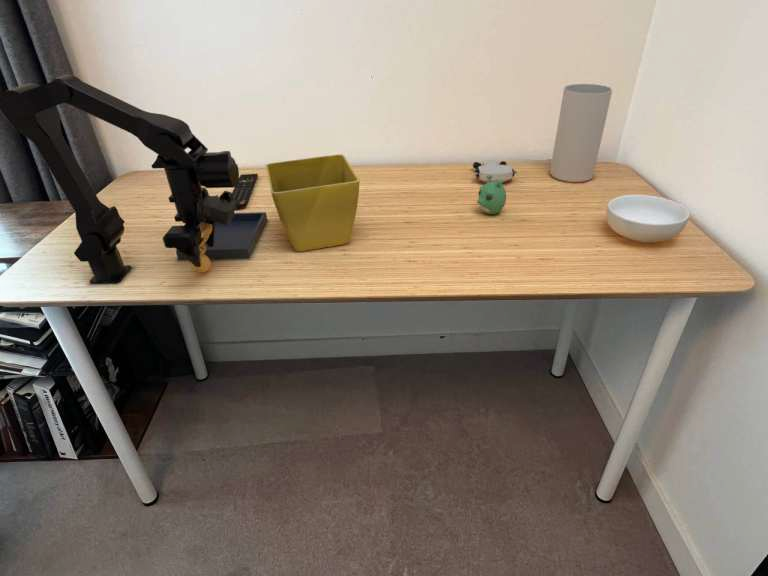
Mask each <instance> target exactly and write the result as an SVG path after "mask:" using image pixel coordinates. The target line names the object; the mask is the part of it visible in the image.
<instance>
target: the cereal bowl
mask: <svg viewBox="0 0 768 576" xmlns="http://www.w3.org/2000/svg"><path fill="white" fill-rule="evenodd" d="M689 219H690V212H689V210H688V209H687V208H686V207H685V206H683V205H682V204H681V203H679V202H676V201H674V200H670V199H668V198H664V197H661V196H655V195H650V194H649V195H648V194H625V195H624V194H623V195H620V196H617V197H613V198H612V199H611V200H610V201H609V202H608V204H607V208H606V221H607V223H608V226H609V228H611V229H612V230H613V231H614V232H616V234H617V235H620V236H622V237H624V238H626V239H627V240H629V241H632V242H635V243H640V244H652V243H659V242H665V241H668V240H671V239H673V238H675V237H676V236H678V235H680V233H682V232H683V231H684V229H685V227H686V225H687V224H688V223H689V222H688V220H689Z"/></svg>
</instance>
